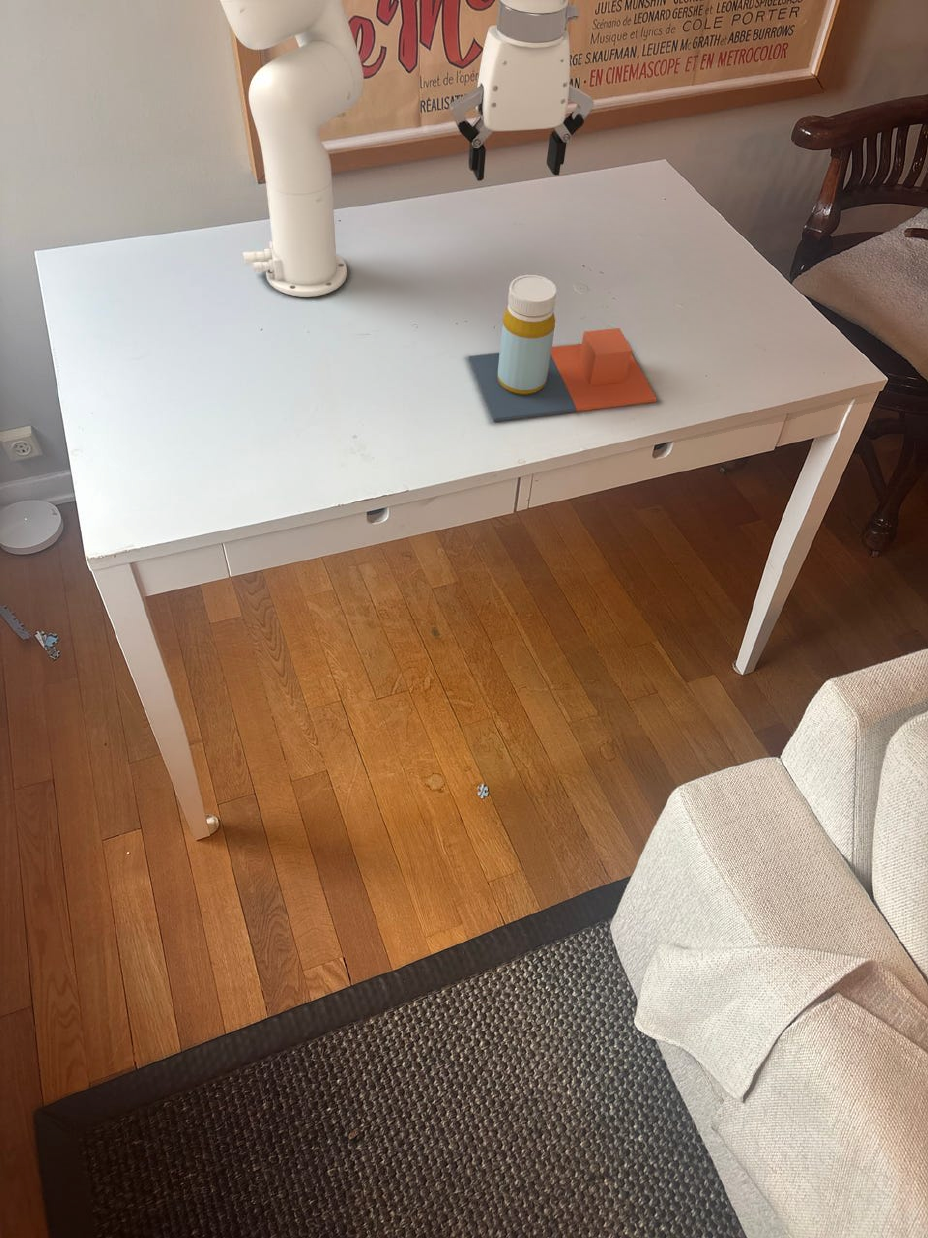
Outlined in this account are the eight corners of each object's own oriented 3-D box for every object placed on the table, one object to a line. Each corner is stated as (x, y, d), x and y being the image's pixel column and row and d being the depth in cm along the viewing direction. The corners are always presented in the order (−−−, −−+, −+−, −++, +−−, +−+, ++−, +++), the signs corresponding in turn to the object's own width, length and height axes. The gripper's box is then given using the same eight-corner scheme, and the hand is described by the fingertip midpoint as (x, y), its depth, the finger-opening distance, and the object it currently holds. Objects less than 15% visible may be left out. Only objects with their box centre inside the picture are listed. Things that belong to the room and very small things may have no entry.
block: (589, 386, 137) (595, 354, 133) (577, 362, 140) (583, 331, 136) (625, 382, 138) (632, 350, 134) (612, 358, 141) (619, 327, 137)
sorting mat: (493, 421, 132) (493, 418, 132) (468, 359, 140) (468, 355, 140) (656, 401, 137) (657, 398, 136) (622, 342, 145) (623, 338, 144)
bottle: (492, 391, 135) (501, 297, 123) (502, 362, 139) (512, 268, 128) (540, 401, 134) (554, 307, 123) (550, 371, 139) (564, 278, 127)
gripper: (595, 2, 109) (572, 153, 122) (446, 7, 105) (440, 161, 119) (617, 30, 104) (591, 183, 118) (462, 36, 101) (454, 193, 115)
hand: (515, 172), depth 118 cm, fingers open, 9 cm apart
